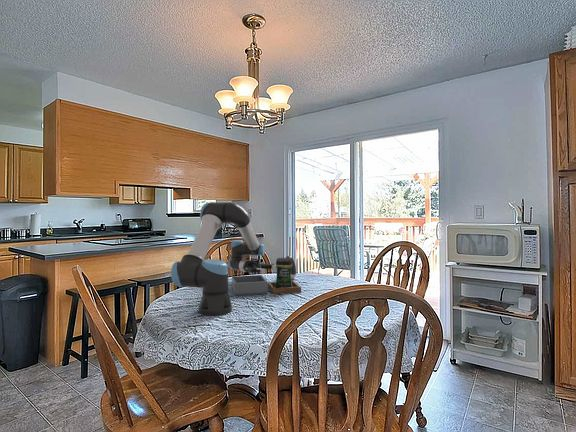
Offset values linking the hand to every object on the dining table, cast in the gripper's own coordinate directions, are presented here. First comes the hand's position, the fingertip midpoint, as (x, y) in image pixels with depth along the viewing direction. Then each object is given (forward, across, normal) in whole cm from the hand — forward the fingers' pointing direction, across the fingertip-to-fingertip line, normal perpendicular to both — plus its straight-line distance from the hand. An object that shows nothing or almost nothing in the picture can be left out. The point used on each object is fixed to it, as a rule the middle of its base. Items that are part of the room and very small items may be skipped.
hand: (272, 269), depth 202 cm
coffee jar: (+9, 0, -11) cm, 14 cm away
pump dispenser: (-8, -25, -11) cm, 28 cm away
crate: (-5, +15, -10) cm, 19 cm away
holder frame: (+9, 0, -10) cm, 14 cm away
